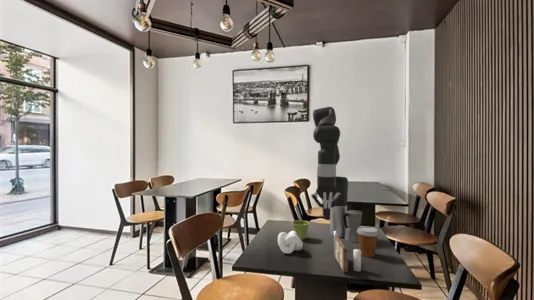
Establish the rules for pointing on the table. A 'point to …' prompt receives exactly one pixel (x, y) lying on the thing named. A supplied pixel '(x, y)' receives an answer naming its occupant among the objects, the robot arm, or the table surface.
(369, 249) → the disposable coffee cup
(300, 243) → the white decorative knot
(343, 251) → the brown flat block
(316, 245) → the table surface
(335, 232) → the translucent grey rod
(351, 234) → the coffeepot
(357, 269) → the post
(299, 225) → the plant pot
